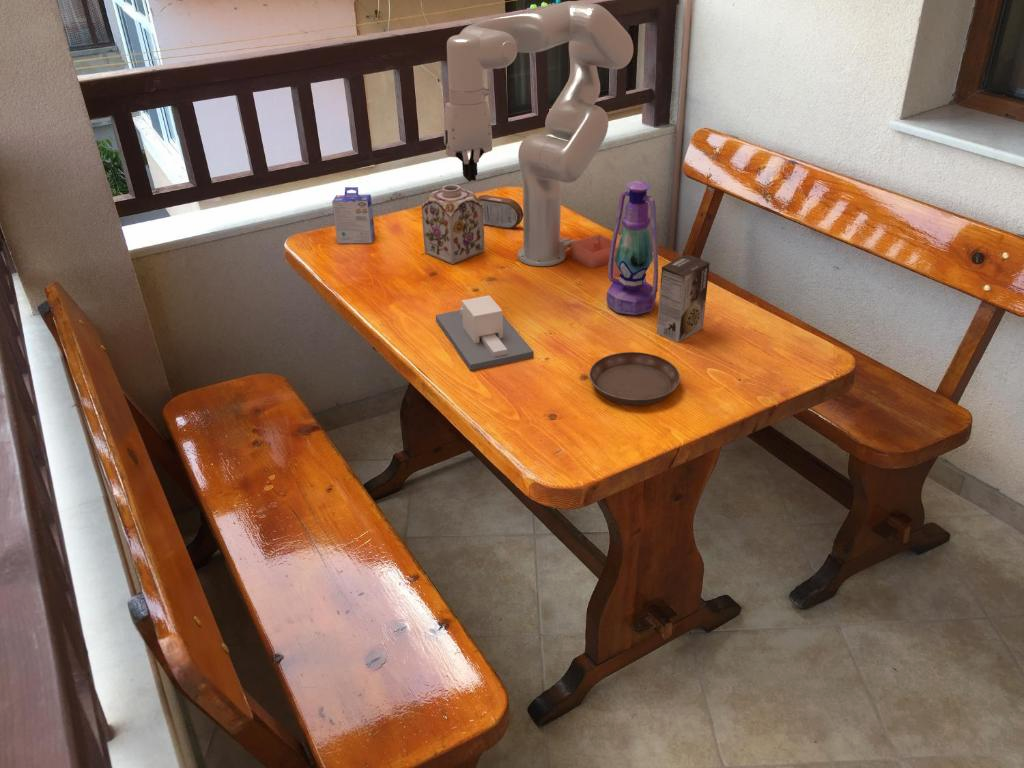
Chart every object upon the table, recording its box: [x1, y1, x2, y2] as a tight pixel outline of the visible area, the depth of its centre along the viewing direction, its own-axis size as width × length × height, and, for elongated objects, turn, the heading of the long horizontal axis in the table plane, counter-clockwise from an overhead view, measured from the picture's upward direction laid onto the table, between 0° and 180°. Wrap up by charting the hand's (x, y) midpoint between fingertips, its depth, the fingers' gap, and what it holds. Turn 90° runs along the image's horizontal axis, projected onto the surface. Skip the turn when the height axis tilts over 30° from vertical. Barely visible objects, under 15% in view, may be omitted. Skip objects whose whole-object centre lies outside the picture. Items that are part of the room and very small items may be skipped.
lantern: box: [606, 180, 659, 316], centre depth 192 cm, size 13×12×30 cm
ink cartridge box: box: [331, 186, 376, 244], centre depth 232 cm, size 10×6×14 cm, turn 89°
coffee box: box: [656, 253, 711, 343], centre depth 185 cm, size 9×6×16 cm
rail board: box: [435, 306, 534, 372], centre depth 187 cm, size 14×24×3 cm, turn 22°
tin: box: [477, 194, 523, 230], centre depth 241 cm, size 15×3×8 cm, turn 66°
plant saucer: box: [588, 351, 681, 407], centre depth 170 cm, size 18×18×3 cm
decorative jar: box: [421, 184, 485, 265], centre depth 223 cm, size 12×12×18 cm
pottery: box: [569, 233, 622, 278], centre depth 218 cm, size 18×10×10 cm, turn 33°
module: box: [461, 294, 504, 343], centre depth 186 cm, size 6×8×6 cm
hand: (470, 179), depth 196 cm, fingers closed
